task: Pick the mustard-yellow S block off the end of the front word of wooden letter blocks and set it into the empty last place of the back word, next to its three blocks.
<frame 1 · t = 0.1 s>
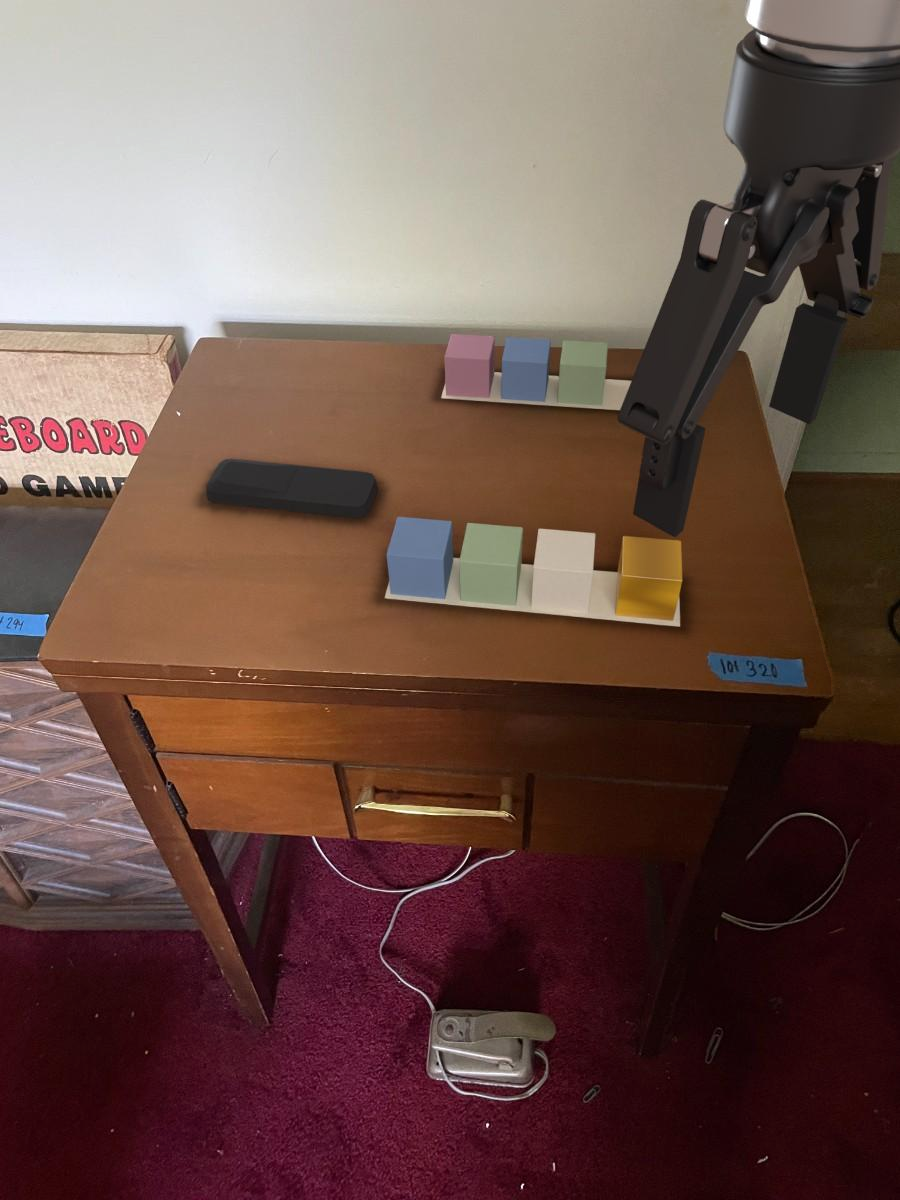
hand: (729, 464, 51), 19 cm above the table, tool pointing down, fingers open, 13 cm apart
s block: (644, 597, 70), resting on front word
back word: (552, 390, 91), on the table
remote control: (293, 495, 81), on the table
front word: (526, 587, 72), on the table
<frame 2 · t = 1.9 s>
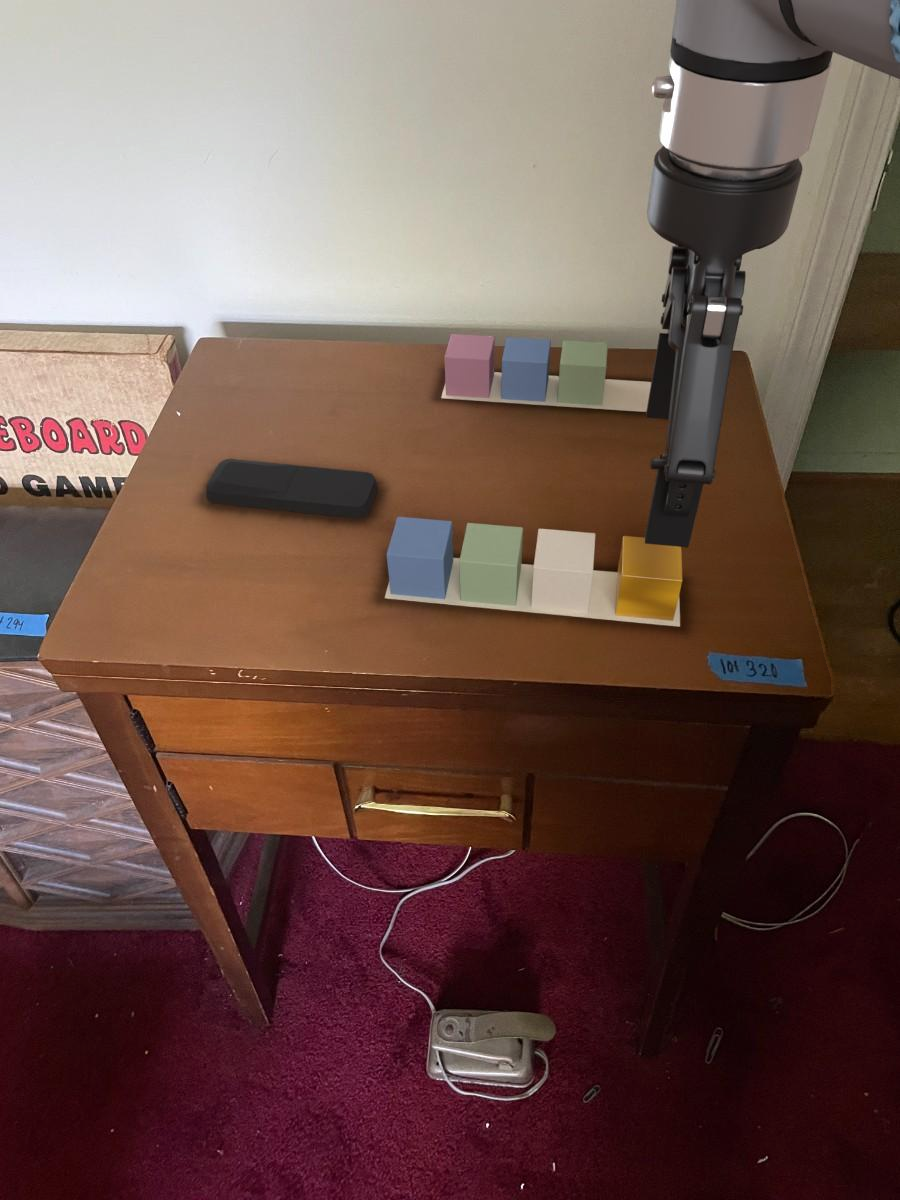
hand: (665, 474, 62), 12 cm above the table, tool pointing down, fingers open, 13 cm apart
nothing on the table moved.
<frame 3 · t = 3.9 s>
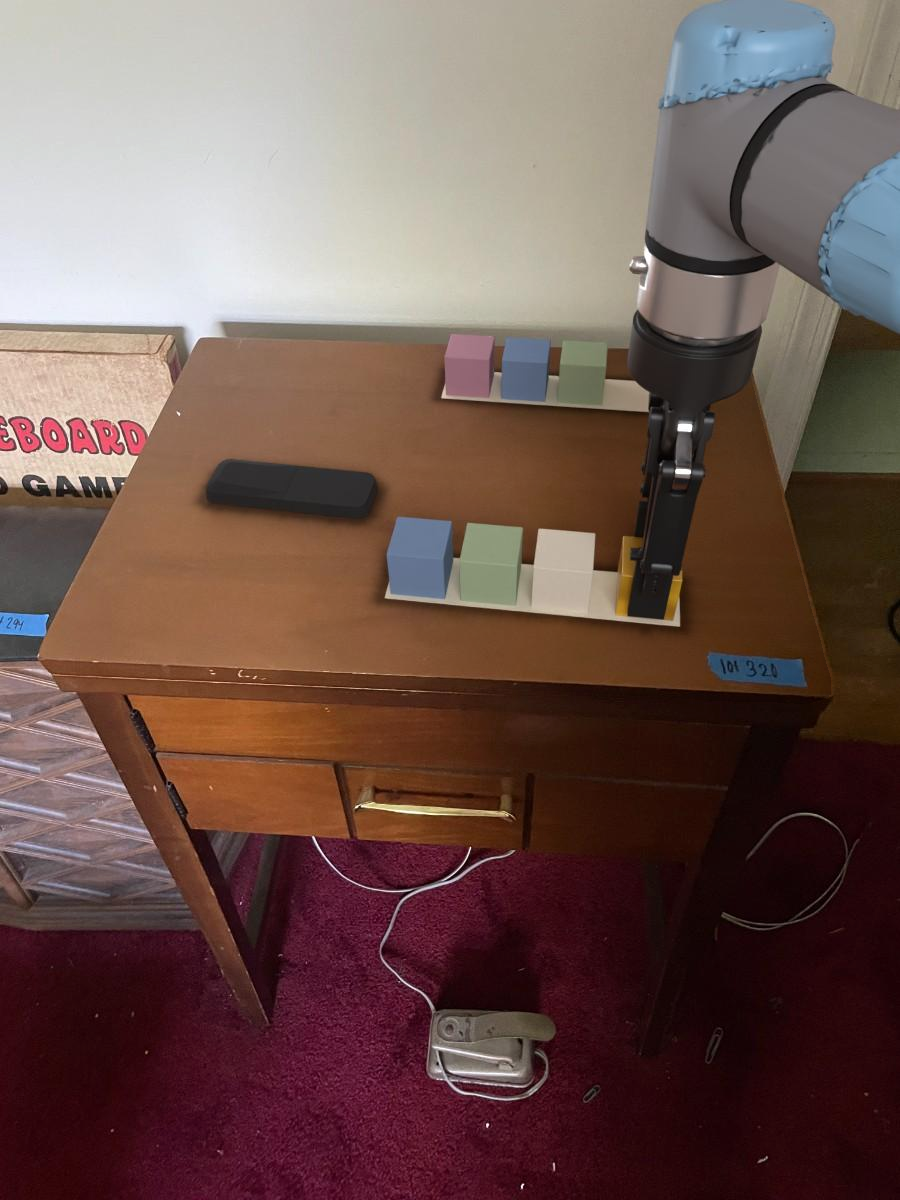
hand: (645, 590, 70), 1 cm above the table, tool pointing down, fingers closed on s block, 4 cm apart
s block: (644, 597, 70), resting on front word, touching gripper
everything else where it was.
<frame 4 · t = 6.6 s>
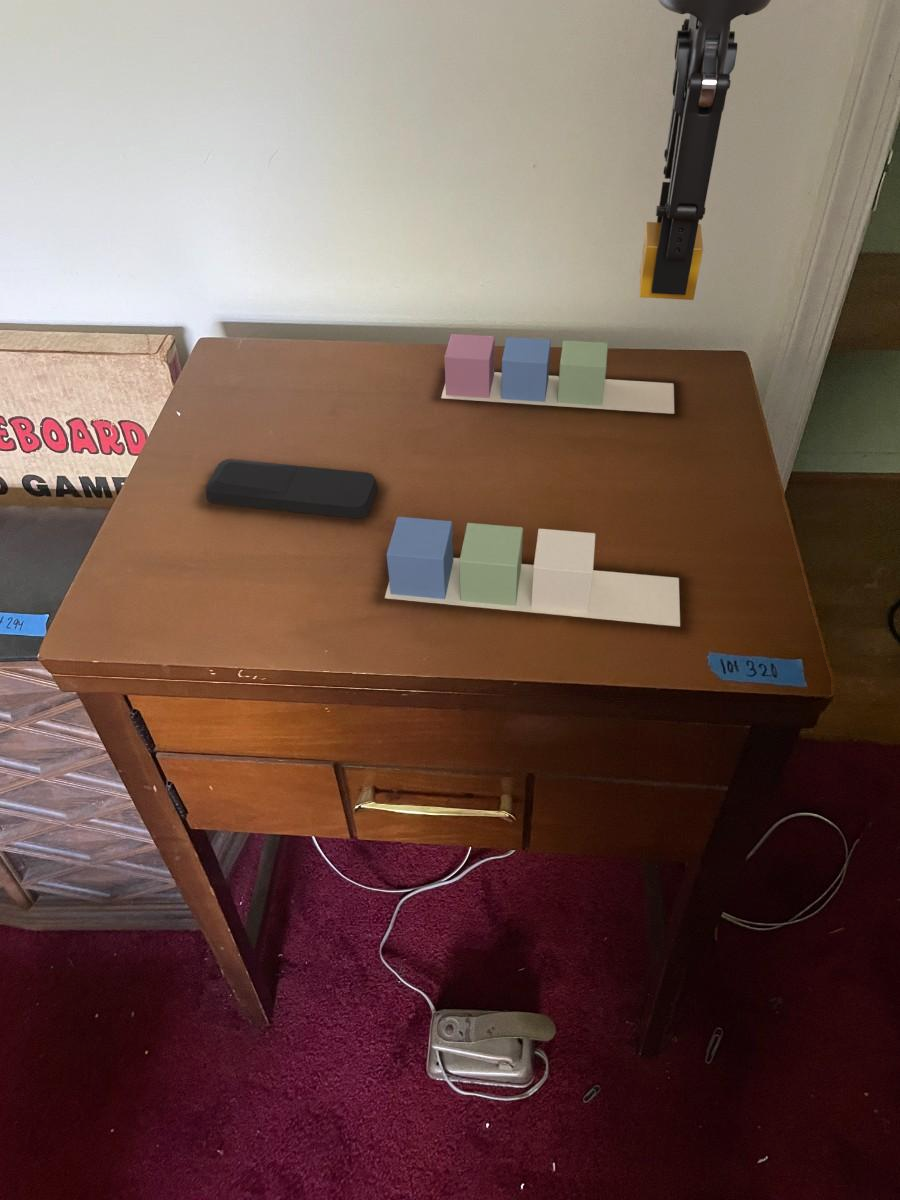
hand: (667, 276, 75), 15 cm above the table, tool pointing down, fingers closed on s block, 4 cm apart
s block: (665, 286, 75), point 14 cm above the table, touching gripper
everything else where it was.
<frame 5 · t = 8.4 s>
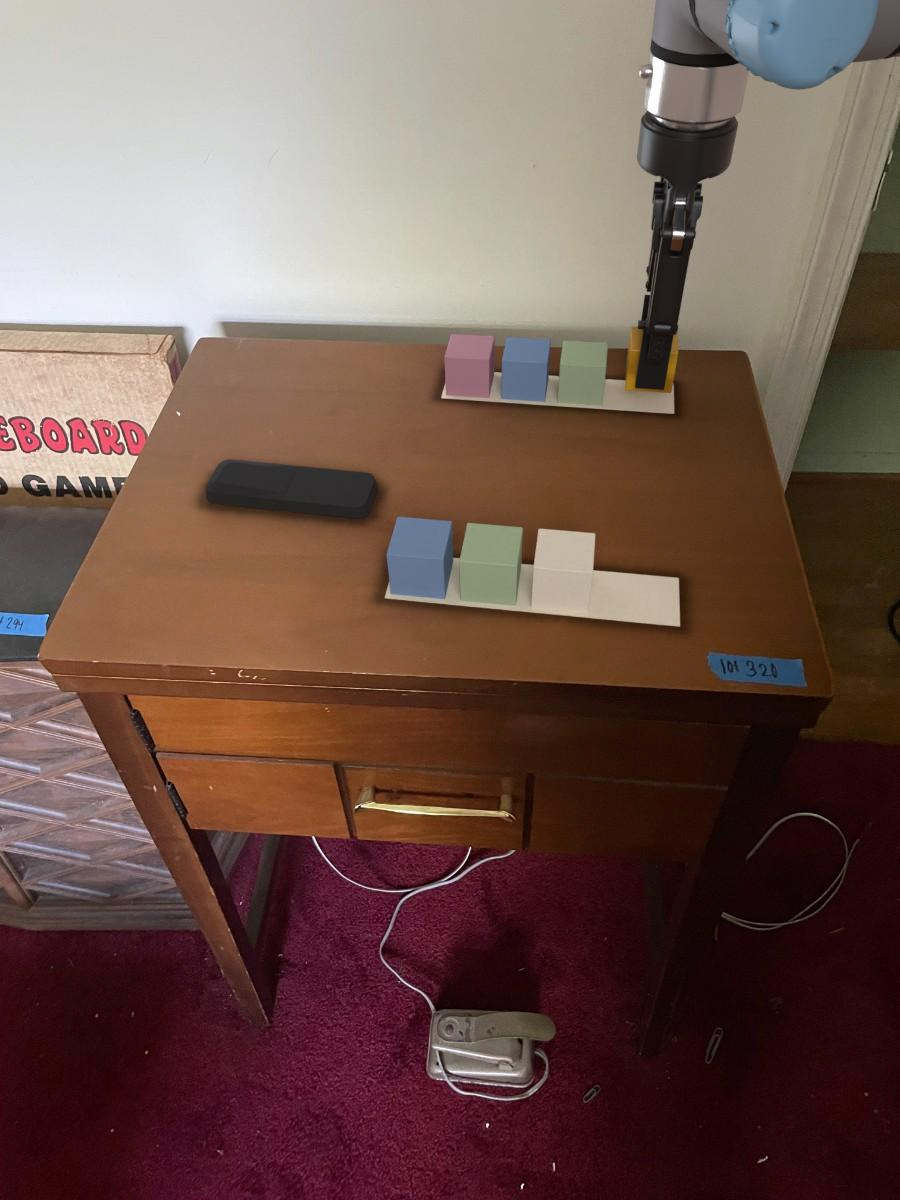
hand: (649, 371, 87), 3 cm above the table, tool pointing down, fingers closed on s block, 4 cm apart
s block: (648, 379, 88), point 2 cm above the table, touching gripper
everything else where it was.
when the fingers open (1 cm above the table, at t = 9.3 s): s block stays where it is, resting on back word.
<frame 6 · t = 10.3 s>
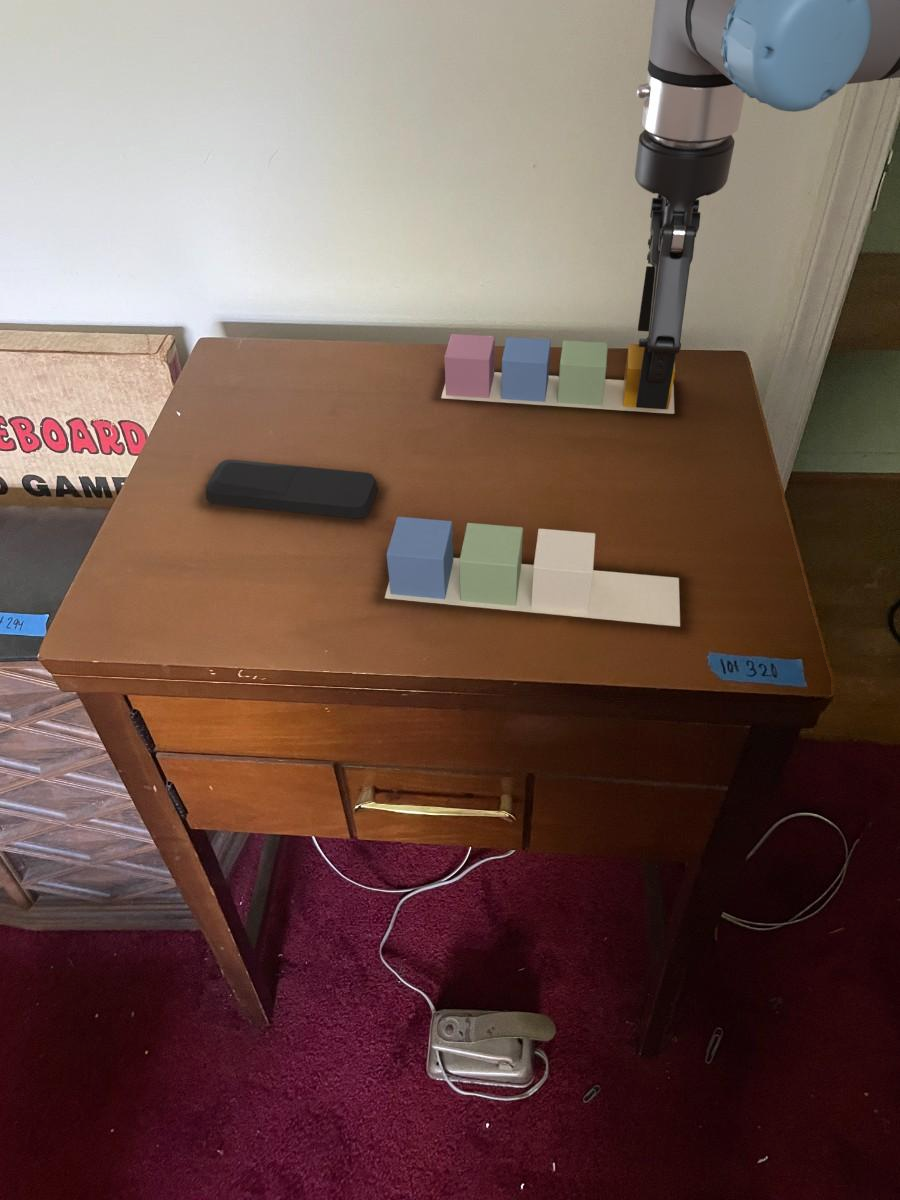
hand: (651, 366, 87), 4 cm above the table, tool pointing down, fingers open, 13 cm apart
s block: (645, 395, 89), resting on back word
everything else where it was.
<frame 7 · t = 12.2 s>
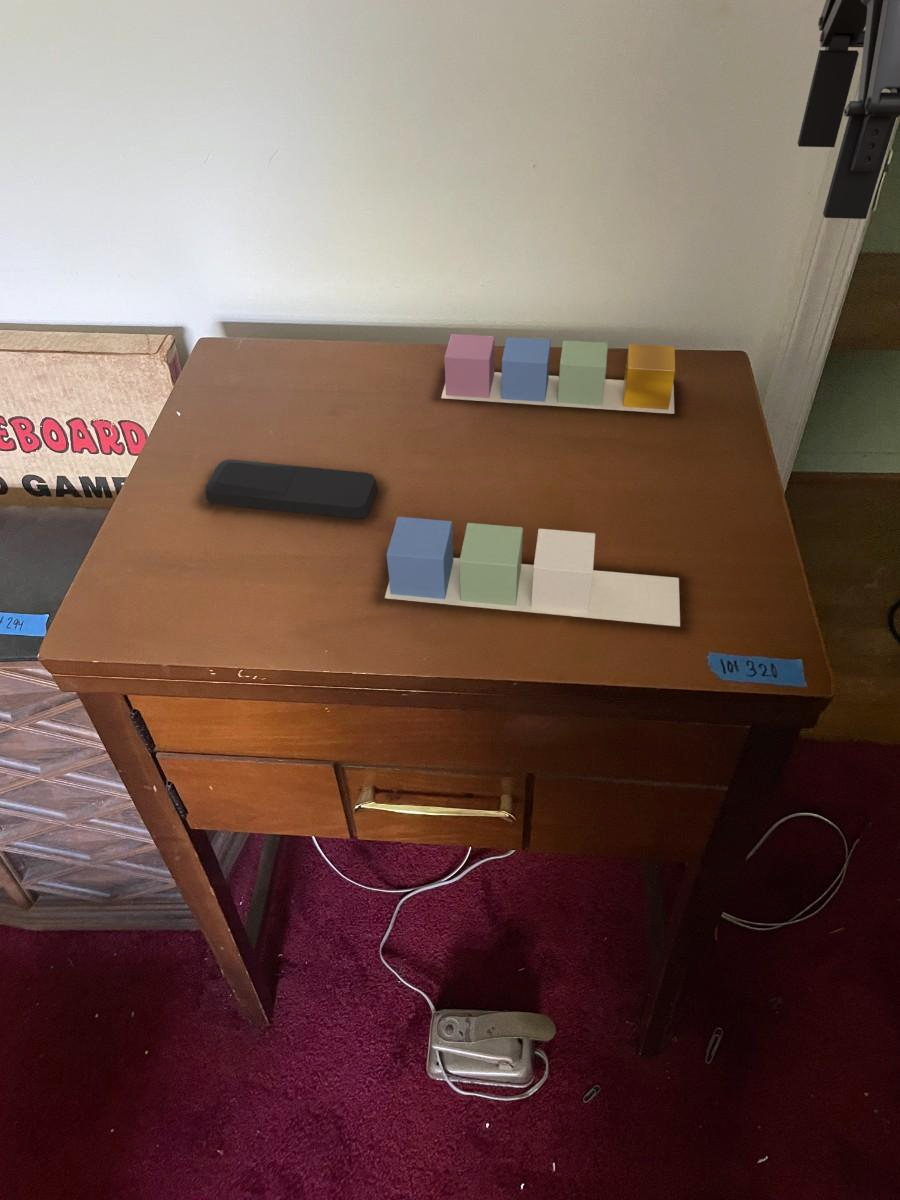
hand: (828, 178, 66), 24 cm above the table, tool pointing down, fingers open, 13 cm apart
nothing on the table moved.
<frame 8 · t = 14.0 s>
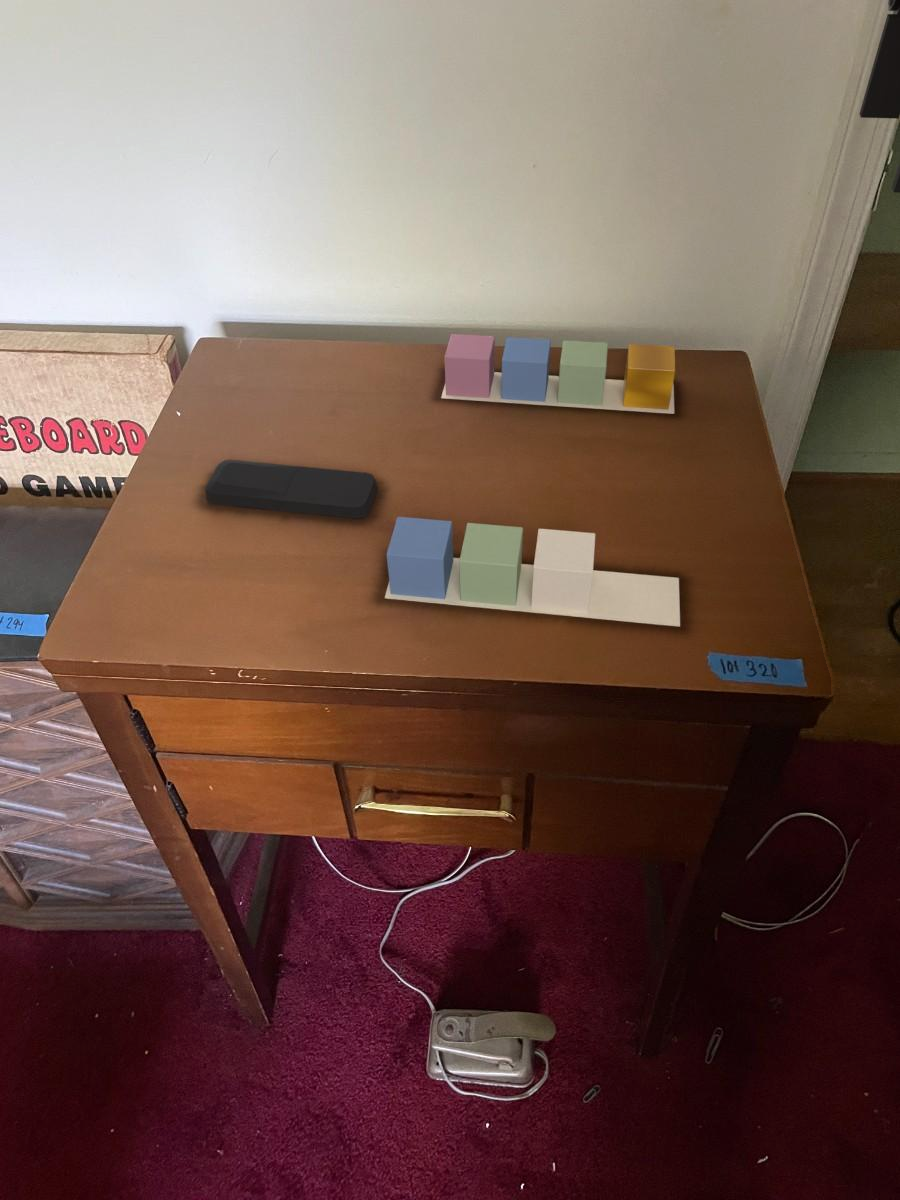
hand: (895, 151, 63), 27 cm above the table, tool pointing down, fingers open, 13 cm apart
nothing on the table moved.
at the end: s block 0.1 cm from the target spot on the back word, point 0.1 cm above the back word's base; s block tilted 0°; the gripper is holding nothing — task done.
